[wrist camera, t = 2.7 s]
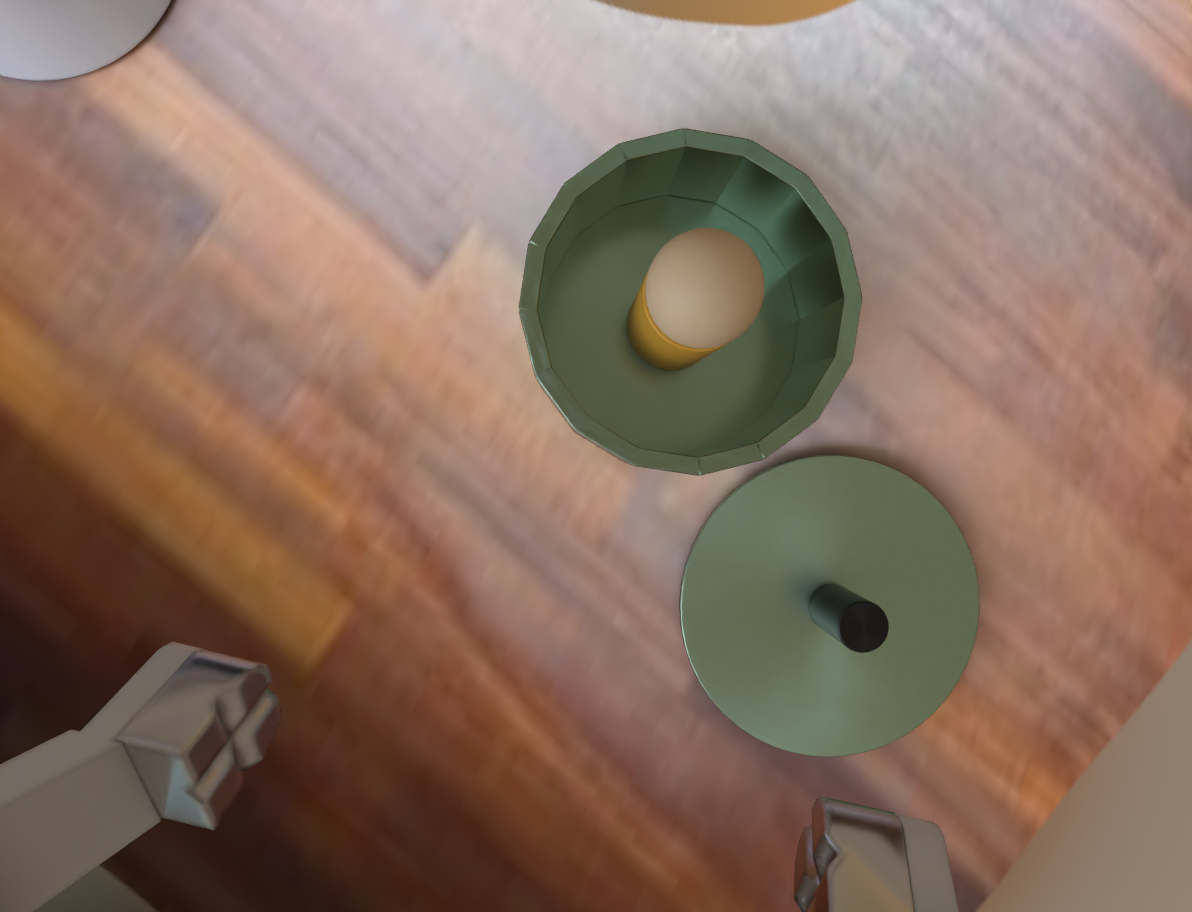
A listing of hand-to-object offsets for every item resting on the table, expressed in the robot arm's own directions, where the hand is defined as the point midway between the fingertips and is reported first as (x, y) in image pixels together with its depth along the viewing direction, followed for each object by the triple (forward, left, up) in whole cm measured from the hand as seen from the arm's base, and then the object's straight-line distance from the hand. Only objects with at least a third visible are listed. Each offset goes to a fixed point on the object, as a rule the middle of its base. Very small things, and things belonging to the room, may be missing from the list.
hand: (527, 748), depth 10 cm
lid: (+12, +9, -26) cm, 30 cm away
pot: (-5, +11, -27) cm, 29 cm away
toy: (-5, +11, -26) cm, 29 cm away
